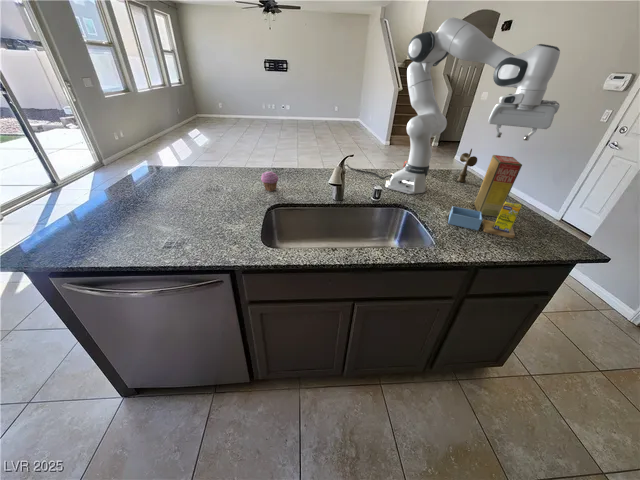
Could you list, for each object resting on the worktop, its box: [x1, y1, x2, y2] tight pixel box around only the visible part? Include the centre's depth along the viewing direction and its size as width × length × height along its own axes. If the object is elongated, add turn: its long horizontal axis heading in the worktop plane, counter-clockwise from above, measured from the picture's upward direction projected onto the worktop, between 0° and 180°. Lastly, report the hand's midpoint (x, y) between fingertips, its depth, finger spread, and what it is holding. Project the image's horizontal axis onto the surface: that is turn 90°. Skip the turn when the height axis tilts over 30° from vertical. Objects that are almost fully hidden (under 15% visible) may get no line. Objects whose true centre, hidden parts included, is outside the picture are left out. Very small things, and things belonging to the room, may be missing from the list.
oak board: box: [482, 219, 516, 239], centre depth 114 cm, size 11×10×2 cm
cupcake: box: [261, 171, 279, 192], centre depth 141 cm, size 9×9×10 cm
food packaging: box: [473, 154, 523, 218], centre depth 124 cm, size 13×9×25 cm
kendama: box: [456, 148, 478, 183], centre depth 160 cm, size 6×10×20 cm, turn 3°
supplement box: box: [493, 200, 522, 233], centre depth 110 cm, size 6×6×11 cm
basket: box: [447, 205, 483, 231], centre depth 118 cm, size 12×9×5 cm
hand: (511, 138), depth 105 cm, fingers open, 8 cm apart
